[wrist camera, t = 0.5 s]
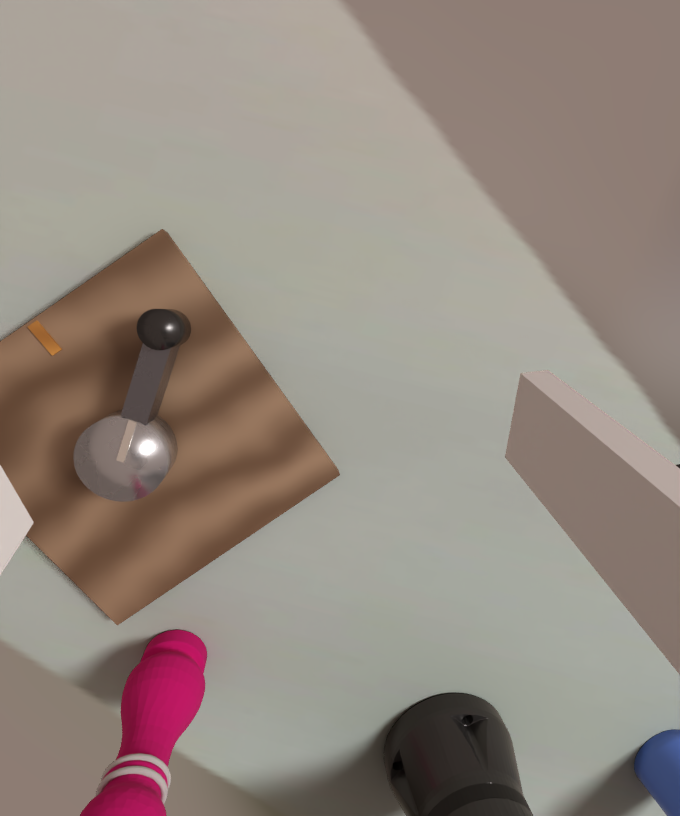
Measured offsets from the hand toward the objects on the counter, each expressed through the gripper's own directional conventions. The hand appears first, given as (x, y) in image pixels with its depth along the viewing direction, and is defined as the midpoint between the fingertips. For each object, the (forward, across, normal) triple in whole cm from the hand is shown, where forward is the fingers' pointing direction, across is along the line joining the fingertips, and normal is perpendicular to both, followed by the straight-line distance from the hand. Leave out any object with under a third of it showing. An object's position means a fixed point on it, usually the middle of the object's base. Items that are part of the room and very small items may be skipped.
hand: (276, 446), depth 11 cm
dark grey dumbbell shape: (+25, +12, +11) cm, 29 cm away
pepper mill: (+19, +15, +38) cm, 44 cm away
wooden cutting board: (+25, +14, +15) cm, 33 cm away
